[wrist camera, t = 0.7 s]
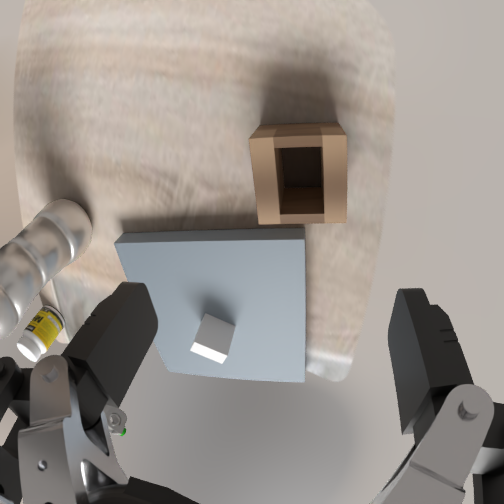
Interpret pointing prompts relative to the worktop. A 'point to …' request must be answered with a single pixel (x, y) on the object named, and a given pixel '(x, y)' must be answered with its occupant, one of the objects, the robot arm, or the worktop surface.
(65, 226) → the plastic bottle
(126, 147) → the worktop surface
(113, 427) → the mechanical component
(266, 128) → the tan hollow open box
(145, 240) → the flat blue-gray panel
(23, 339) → the supplement bottle
